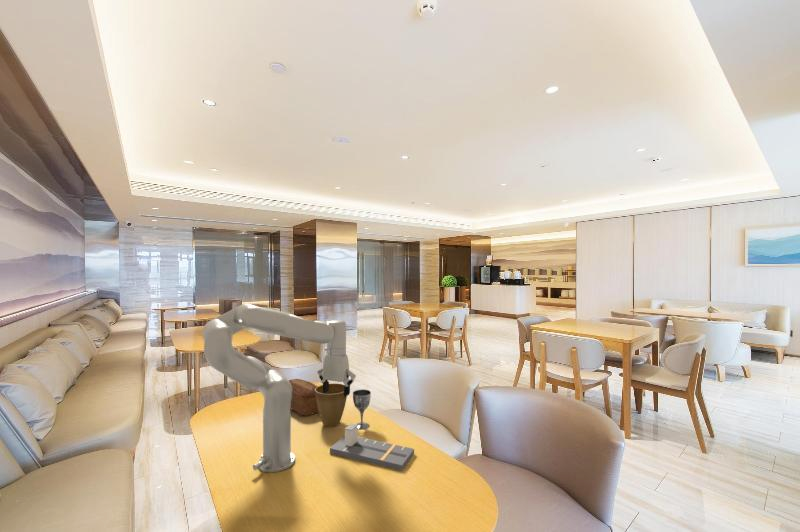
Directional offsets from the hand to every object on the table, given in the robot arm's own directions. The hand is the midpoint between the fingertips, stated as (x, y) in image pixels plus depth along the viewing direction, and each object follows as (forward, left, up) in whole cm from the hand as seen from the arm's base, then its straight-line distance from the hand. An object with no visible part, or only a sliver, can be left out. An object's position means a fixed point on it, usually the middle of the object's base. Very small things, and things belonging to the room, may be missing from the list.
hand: (336, 393), depth 141 cm
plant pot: (+15, +12, -21) cm, 29 cm away
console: (-1, -17, -20) cm, 26 cm away
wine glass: (+18, -2, -21) cm, 28 cm away
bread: (+25, +37, -21) cm, 50 cm away
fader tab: (-1, -8, -18) cm, 19 cm away
